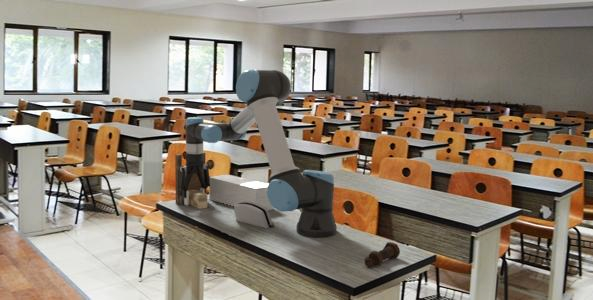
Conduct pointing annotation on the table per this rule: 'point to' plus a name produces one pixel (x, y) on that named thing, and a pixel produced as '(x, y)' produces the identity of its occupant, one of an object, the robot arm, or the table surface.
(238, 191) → the white ribbed block
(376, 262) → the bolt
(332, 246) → the table surface
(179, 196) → the wooden cleated plank
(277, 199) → the robot arm
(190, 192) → the tan wooden block
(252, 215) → the white rounded block
